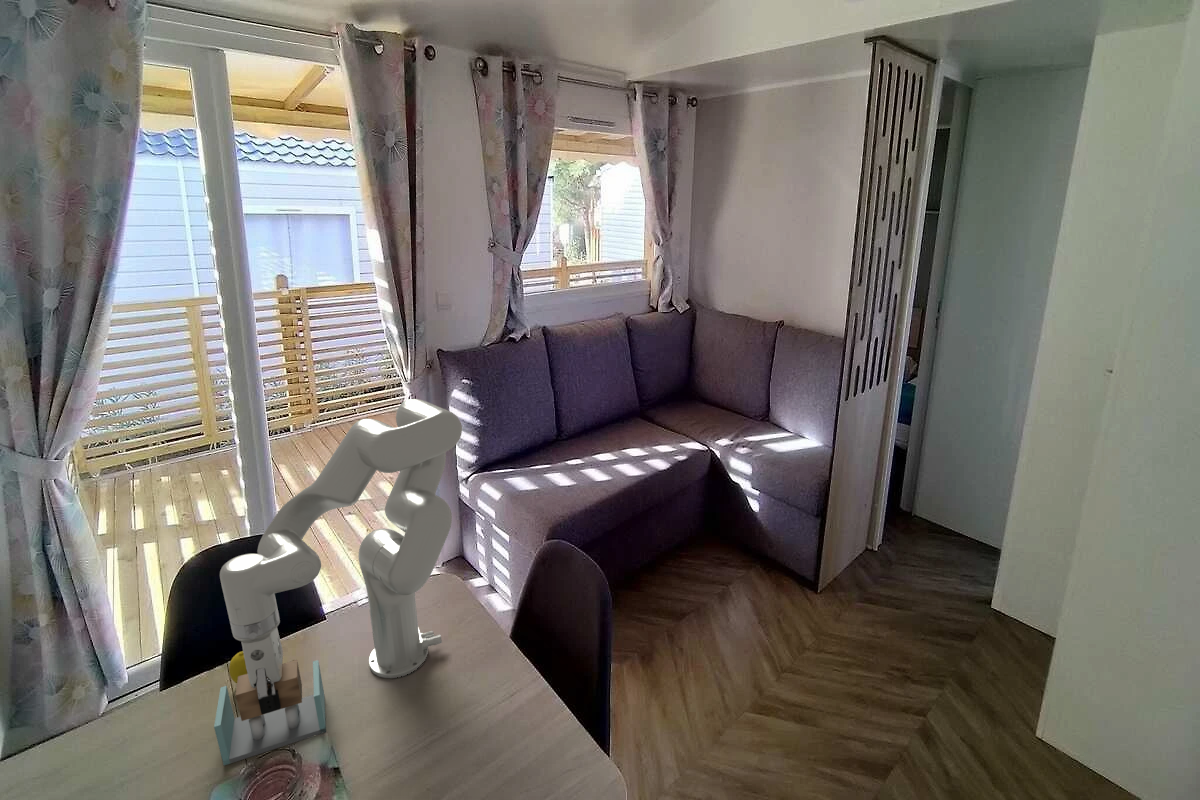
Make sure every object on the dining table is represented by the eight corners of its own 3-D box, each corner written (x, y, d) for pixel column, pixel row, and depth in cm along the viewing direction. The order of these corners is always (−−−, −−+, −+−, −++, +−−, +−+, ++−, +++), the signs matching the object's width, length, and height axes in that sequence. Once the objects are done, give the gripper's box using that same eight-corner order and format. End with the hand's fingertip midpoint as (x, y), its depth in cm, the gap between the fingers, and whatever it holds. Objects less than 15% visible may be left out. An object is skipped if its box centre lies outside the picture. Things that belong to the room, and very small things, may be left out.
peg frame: (324, 695, 123) (318, 659, 120) (326, 731, 114) (319, 694, 112) (229, 724, 116) (220, 687, 113) (223, 765, 107) (214, 726, 105)
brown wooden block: (301, 684, 118) (297, 659, 116) (301, 702, 113) (297, 677, 111) (243, 701, 113) (238, 676, 112) (241, 721, 109) (235, 695, 107)
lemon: (249, 695, 123) (242, 663, 120) (226, 690, 124) (219, 659, 122) (269, 675, 128) (262, 644, 126) (246, 671, 129) (239, 641, 127)
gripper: (276, 644, 102) (293, 726, 107) (280, 588, 116) (294, 664, 122) (226, 657, 99) (245, 741, 104) (235, 599, 113) (252, 675, 119)
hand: (271, 699), depth 113 cm, fingers closed on brown wooden block, 4 cm apart
